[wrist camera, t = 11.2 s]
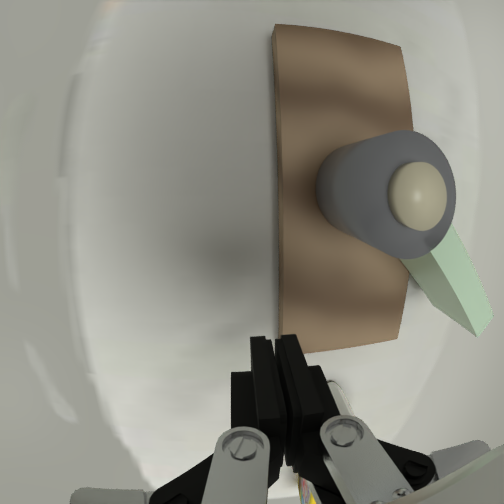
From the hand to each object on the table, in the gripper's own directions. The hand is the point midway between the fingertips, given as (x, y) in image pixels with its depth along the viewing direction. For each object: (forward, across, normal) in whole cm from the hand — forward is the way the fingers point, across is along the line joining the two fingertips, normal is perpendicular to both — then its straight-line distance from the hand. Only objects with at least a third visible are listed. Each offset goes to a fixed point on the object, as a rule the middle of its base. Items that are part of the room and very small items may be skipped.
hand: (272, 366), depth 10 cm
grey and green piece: (+9, -10, -3) cm, 13 cm away
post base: (+11, -7, -6) cm, 14 cm away
